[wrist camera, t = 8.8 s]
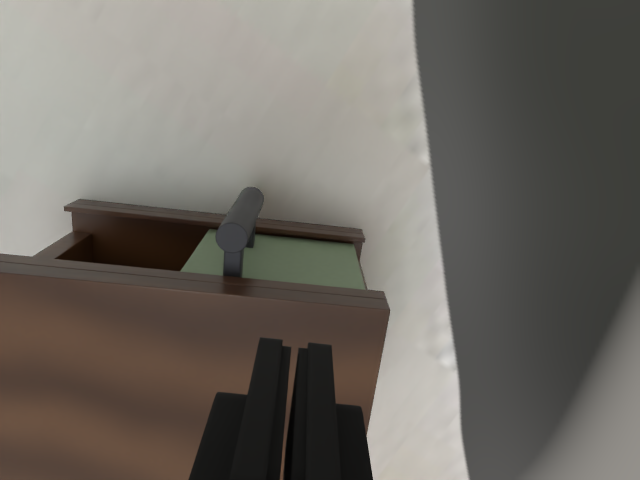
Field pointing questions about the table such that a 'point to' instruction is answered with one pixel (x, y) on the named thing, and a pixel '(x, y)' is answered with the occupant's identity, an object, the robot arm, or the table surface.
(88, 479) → the cabinet
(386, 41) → the table surface
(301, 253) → the sliding door
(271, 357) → the robot arm
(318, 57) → the table surface
